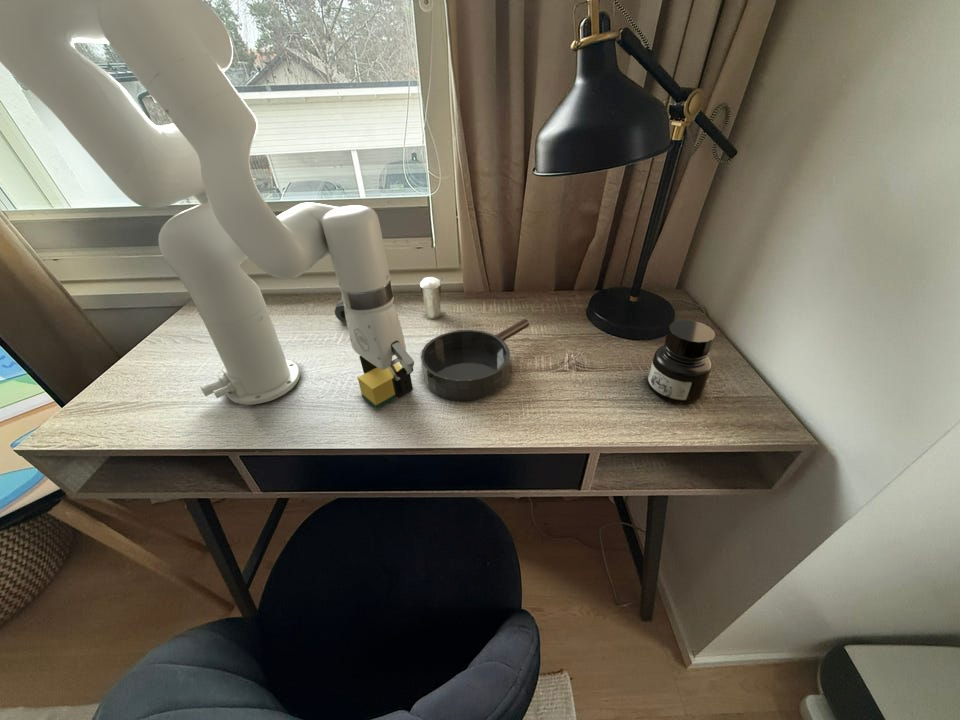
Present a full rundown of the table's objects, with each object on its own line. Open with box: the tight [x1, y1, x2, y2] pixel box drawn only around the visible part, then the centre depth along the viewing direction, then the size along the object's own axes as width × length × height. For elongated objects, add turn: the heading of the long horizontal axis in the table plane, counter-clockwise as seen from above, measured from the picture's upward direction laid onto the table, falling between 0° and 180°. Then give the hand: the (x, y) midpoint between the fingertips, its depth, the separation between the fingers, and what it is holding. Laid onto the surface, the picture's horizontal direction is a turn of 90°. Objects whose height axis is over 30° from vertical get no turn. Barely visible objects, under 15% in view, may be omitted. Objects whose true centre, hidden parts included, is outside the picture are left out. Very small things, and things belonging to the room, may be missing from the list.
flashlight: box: [334, 299, 347, 324], centre depth 99 cm, size 15×5×5 cm, turn 169°
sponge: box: [357, 363, 402, 409], centre depth 74 cm, size 7×5×4 cm, turn 135°
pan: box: [419, 329, 511, 402], centre depth 78 cm, size 16×16×4 cm
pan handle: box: [494, 318, 530, 342], centre depth 85 cm, size 9×2×2 cm, turn 135°
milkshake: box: [419, 276, 444, 320], centre depth 94 cm, size 4×5×10 cm
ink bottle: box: [647, 319, 716, 405], centre depth 71 cm, size 10×9×12 cm
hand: (387, 381), depth 73 cm, fingers open, 9 cm apart
